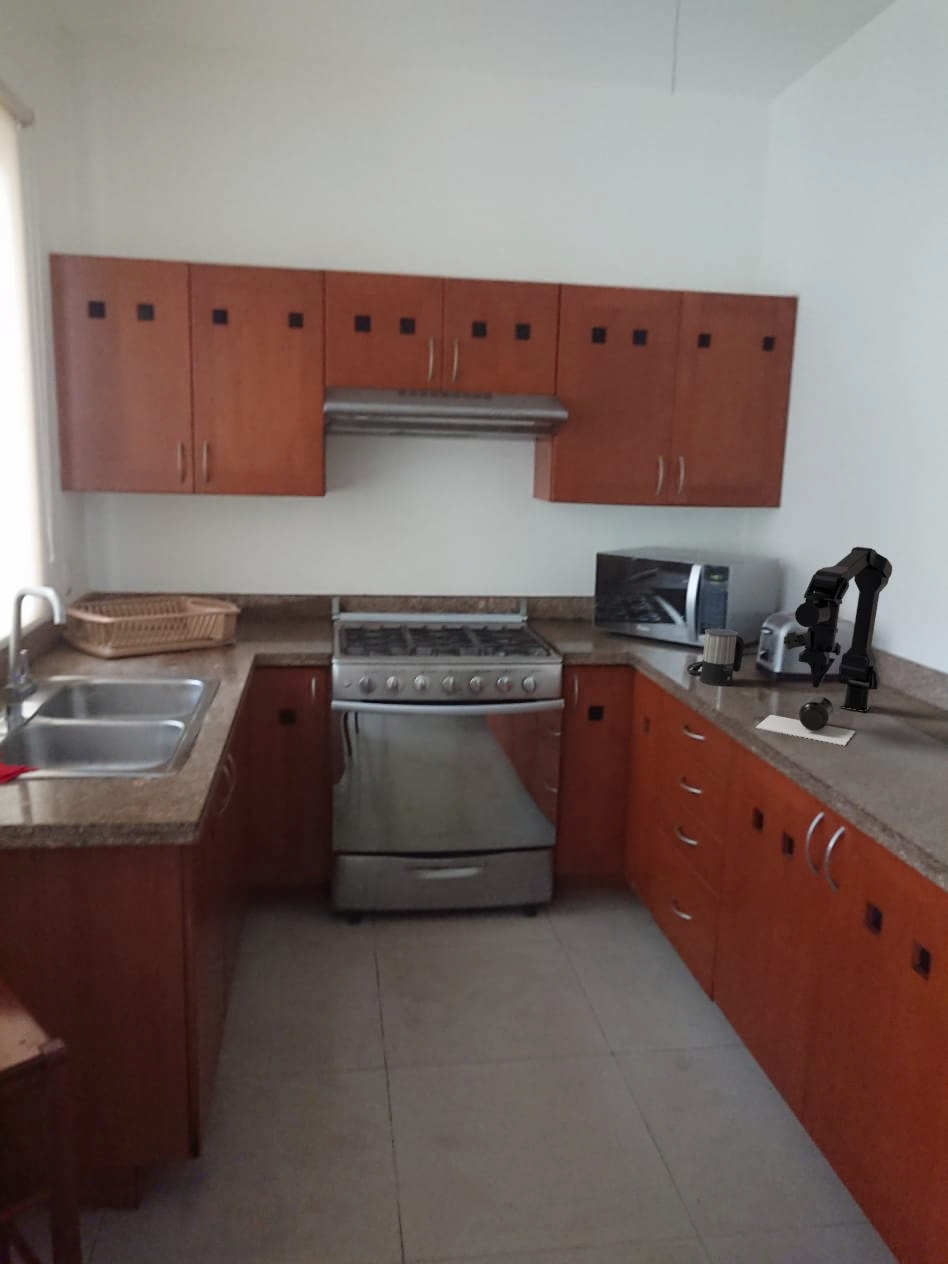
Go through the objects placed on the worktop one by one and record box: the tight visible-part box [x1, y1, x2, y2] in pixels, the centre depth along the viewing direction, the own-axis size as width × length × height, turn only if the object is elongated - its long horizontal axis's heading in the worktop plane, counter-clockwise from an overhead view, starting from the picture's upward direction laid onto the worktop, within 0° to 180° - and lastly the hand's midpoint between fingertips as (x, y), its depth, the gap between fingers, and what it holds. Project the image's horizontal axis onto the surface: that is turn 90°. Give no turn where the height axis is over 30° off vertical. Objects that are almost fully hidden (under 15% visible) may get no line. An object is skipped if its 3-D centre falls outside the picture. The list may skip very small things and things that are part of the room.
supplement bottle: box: [798, 695, 834, 730], centre depth 219 cm, size 7×7×12 cm
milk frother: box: [686, 628, 745, 687], centre depth 264 cm, size 14×16×15 cm
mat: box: [755, 714, 856, 747], centre depth 218 cm, size 14×20×1 cm
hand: (815, 687), depth 221 cm, fingers closed
